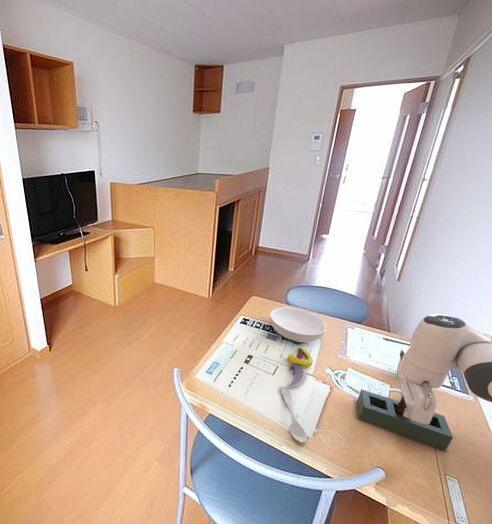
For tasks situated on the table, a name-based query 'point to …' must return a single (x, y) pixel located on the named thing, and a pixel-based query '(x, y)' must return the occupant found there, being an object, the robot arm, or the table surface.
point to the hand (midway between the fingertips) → (404, 409)
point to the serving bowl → (297, 324)
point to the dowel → (401, 406)
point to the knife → (299, 365)
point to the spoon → (294, 421)
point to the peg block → (402, 420)
